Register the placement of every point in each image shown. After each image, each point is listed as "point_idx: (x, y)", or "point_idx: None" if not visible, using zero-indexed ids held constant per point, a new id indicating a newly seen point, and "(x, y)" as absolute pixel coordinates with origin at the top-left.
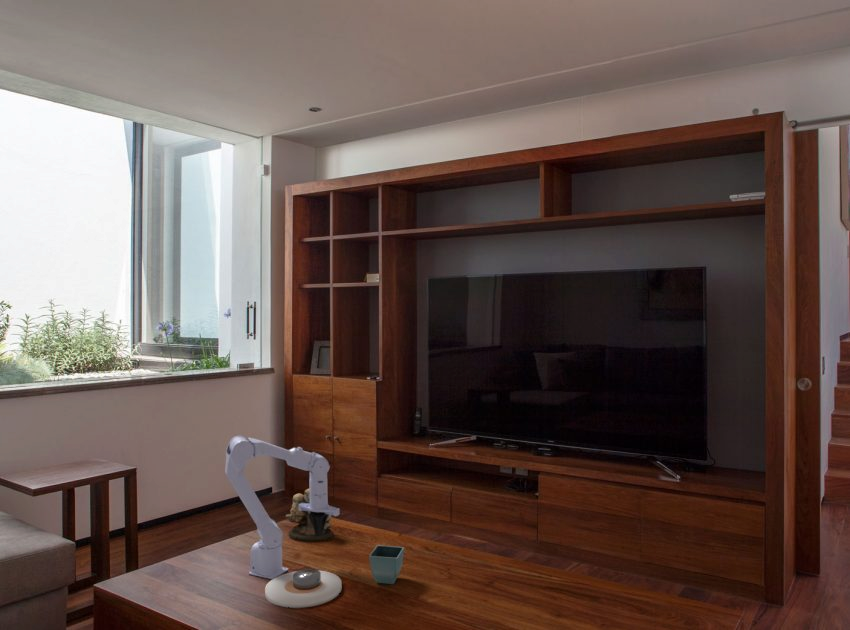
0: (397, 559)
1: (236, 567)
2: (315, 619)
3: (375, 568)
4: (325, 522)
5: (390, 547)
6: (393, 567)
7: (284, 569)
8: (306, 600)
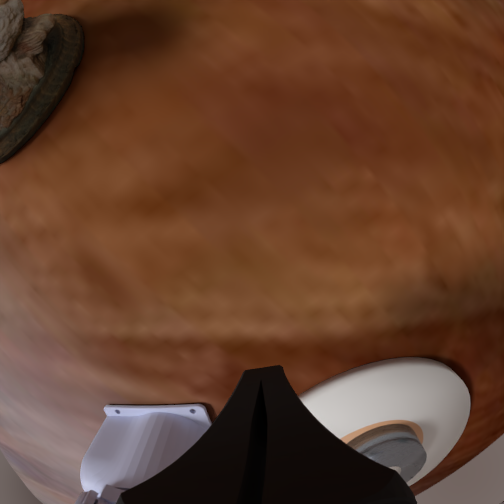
0: None
1: (73, 434)
2: (451, 469)
3: None
4: (322, 426)
5: None
6: None
7: (199, 418)
8: (419, 476)
